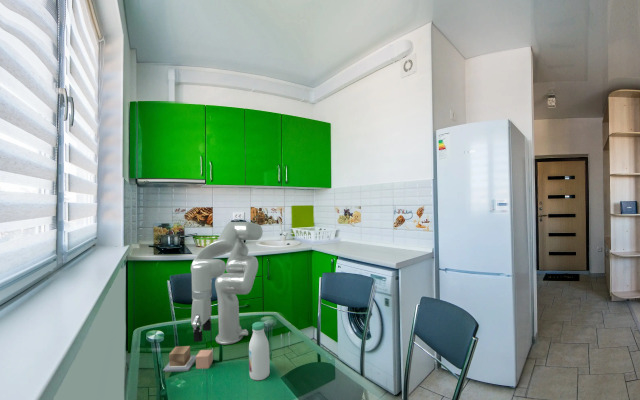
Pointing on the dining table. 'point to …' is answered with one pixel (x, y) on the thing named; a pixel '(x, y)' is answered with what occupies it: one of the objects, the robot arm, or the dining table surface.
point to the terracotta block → (204, 359)
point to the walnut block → (179, 356)
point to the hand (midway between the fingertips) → (202, 335)
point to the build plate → (181, 368)
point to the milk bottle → (259, 353)
